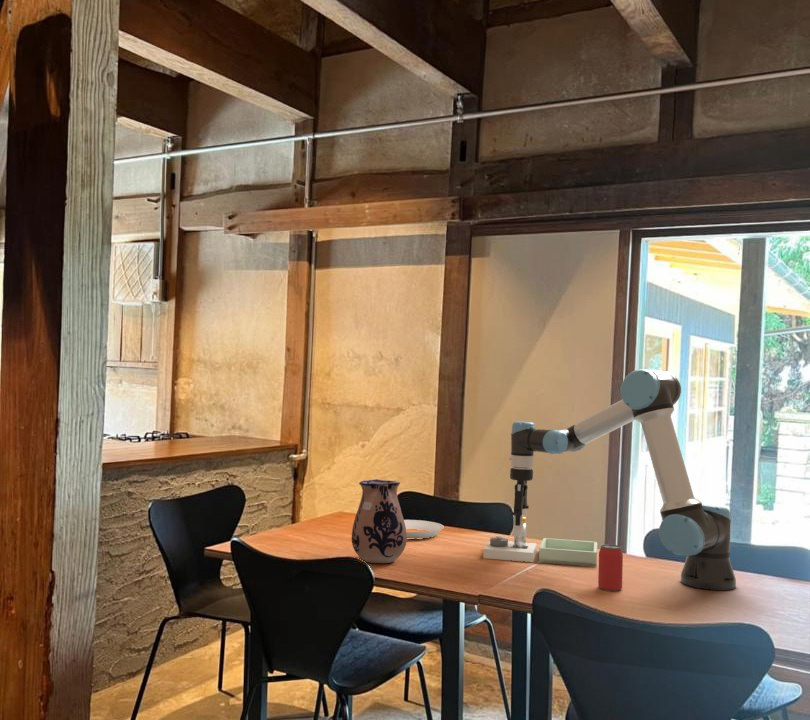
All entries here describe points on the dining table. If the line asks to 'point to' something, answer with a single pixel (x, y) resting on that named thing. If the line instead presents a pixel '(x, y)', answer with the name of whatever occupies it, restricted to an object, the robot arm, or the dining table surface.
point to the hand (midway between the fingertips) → (519, 531)
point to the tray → (568, 552)
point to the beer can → (610, 567)
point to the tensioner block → (509, 550)
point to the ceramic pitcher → (379, 523)
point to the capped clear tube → (521, 540)
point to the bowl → (422, 528)
